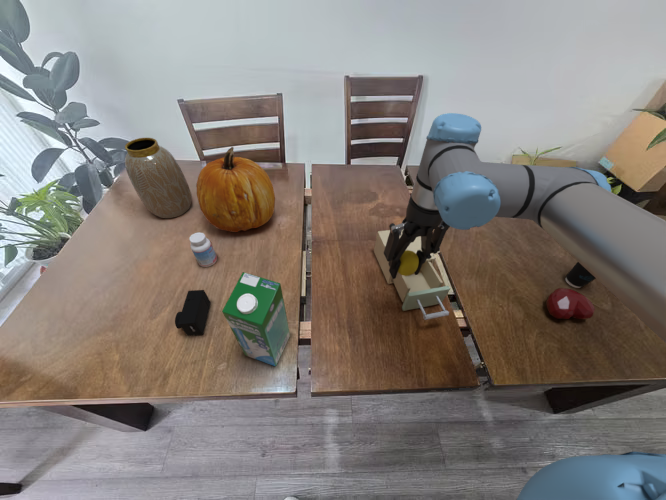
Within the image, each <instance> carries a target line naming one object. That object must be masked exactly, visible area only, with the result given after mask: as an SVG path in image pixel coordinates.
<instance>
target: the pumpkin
mask: <svg viewBox="0 0 666 500" xmlns="http://www.w3.org/2000/svg"><path fill="white" fill-rule="evenodd" d="M196 197H197V202H198V204H199V208H200V211H201V213H202V215H203V216H204V217H205V219H206V220H207V221H208V222H209V223H210V225H212V226H214V227H215V228H216V229H218V230H221V231H226V232H230V233H231V232H232V233H238V232H240V231H248V230H250V229H256V228H257V229H258V228H259V227H262V226H264V225H265V224H267V223H268V222H269V220H270V219H271V218H272V217H273V215H274V212H275V205H276V204H275V203H276V195H275V190H274V186H273V183H272V181H271V179H270V176H269V174H268V173H267V172H266V170H264V169H263V167H262V166H260V165H259V164H258V163H257V162H256V161H254V160H251V159H250V158H246V157H243V156H242V157H240V156H235V152H234V146H231V147H230V148H228V150H227V151H226V152H225V154H224V157H219V158H217V159H215V160H212V161H209V162H208V163H206V165H205V166H203V168H202V169H201V170H200V172H199V173H198V176H197V180H196Z"/></svg>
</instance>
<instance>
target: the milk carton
mask: <svg viewBox="0 0 666 500" xmlns="http://www.w3.org/2000/svg"><path fill="white" fill-rule="evenodd" d="M286 311H287V310H286V306H285V301H284V295H283V290H282V283H281V282H277V281H274V280H271V279H268V278H264V277H261V276H258V275H255V274H251V273H248V272H245V271H242V273H241V274H240V276H239V278H238V280H237V282H236V284H235V286H234V288H233V289H232V292H231V293H230V296H229V297H228V299H227V301H226V303H225V305H224V307H223V309H222V311H221V312H222V314H223V317H224V318H225V320H226V322H227V324H228V326H229V327H230V330H231V331H232V333H233V335H234V338H235V339H236V341H237V343H238V345H239V347H240V349H241V351H242V353H243V354H244V356H246V357H249V358H251V359H253V360H257V361H260V362H262V363H265V364H268V365H270V366H273V367H277V365H278V363H279V362H280V359H281V356H282V354H283V352H284V350H285V348H286V346H287V344H288V341H289V339H290V337H291V333H290V326H289V322H288V317H287V312H286Z"/></svg>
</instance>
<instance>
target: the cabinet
mask: <svg viewBox="0 0 666 500" xmlns="http://www.w3.org/2000/svg"><path fill="white" fill-rule="evenodd" d="M403 230H404V229H403ZM403 230H402V231H403ZM389 233H390V229H385V230H379V231H377V232H376V238H375V243H374V247H373V253H374V255H375V258H376V260H377V262H378V265H379V267H380V269H381V271H382V273H383V276H384V278H385V281H386V283H387V284H388V285H390V284H391V285H392V284H394V283H393V280H392V276H391V274H390V272H389V269H390V267H389V264H388V263H389V262H388V261H387V260H386V257H385V255H384V250H385V246H386V243H387V240H388V237H389ZM401 236H402V232H401ZM401 236H399V239H400V237H401ZM406 250H410V251H413V252H414V253H417V250H421V236H419V237H416V239H415V240H414V242H411V243H410V245H409V246H408V247H407V249H406ZM421 251H422V250H421ZM430 255H431V256H432V257H431V258H430V259H426V261H430V262H431V263H432V265H433V266H434V263H435V261H436V256H435V254H433V253H431V254H430Z"/></svg>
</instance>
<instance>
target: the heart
mask: <svg viewBox="0 0 666 500" xmlns="http://www.w3.org/2000/svg"><path fill="white" fill-rule="evenodd" d="M545 304H546V308H547V309H546V310H547V311H548V313H549V315H551V316H552V317H553V318H554V319H559V320H561V319H562V320H569V319H570V318H574V319H577V320H587V319H591V318H592V317H594V313H595V310H596V308H595V305H594V304H593V302H592V301H591V300H590V299H589V298H588V297H586V296H585V295H583V294H582V293H580V292H578V291H576V290H574V289H571V288H566V287H559V288H556V289H555V290H553V291H552V292H551V293H550V294H549V295H548V297H547V299H546V301H545Z"/></svg>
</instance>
